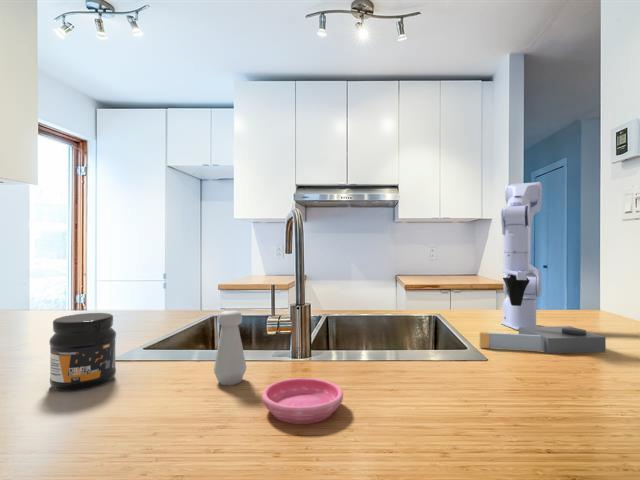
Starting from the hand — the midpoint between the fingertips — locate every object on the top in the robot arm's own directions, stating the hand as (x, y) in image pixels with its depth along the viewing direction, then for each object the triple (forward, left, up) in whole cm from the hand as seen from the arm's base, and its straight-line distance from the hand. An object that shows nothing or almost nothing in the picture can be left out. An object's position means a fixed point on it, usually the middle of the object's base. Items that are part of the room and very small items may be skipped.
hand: (515, 305), depth 100 cm
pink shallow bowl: (+36, -56, -10) cm, 67 cm away
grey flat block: (+5, +8, -9) cm, 13 cm away
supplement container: (+21, -96, -10) cm, 99 cm away
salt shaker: (+23, -69, -10) cm, 73 cm away
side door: (+7, -6, -9) cm, 13 cm away
